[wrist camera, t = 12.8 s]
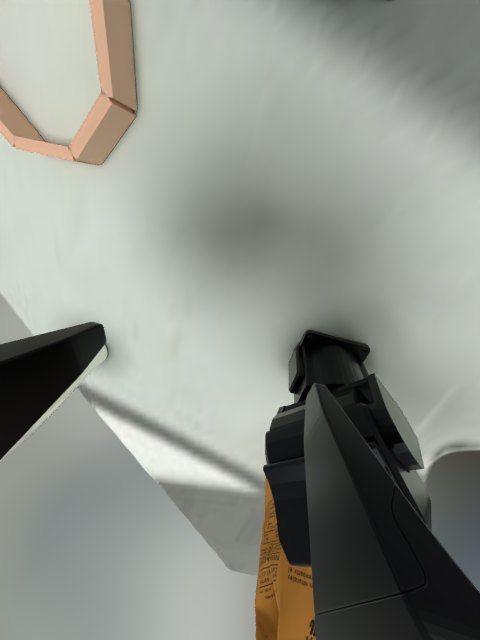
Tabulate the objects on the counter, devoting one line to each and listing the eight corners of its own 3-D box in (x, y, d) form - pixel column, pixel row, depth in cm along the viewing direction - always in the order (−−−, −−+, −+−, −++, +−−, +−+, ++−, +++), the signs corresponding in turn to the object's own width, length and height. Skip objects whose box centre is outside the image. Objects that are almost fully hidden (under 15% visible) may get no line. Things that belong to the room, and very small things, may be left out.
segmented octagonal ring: (122, -119, 11) (81, -195, 9) (141, 173, 17) (120, 170, 15) (-82, -136, 12) (-163, -208, 10) (9, 146, 18) (-27, 140, 16)
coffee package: (319, 499, 39) (346, 780, 20) (258, 472, 38) (229, 734, 19) (355, 480, 33) (439, 839, 15) (286, 449, 33) (282, 778, 14)
